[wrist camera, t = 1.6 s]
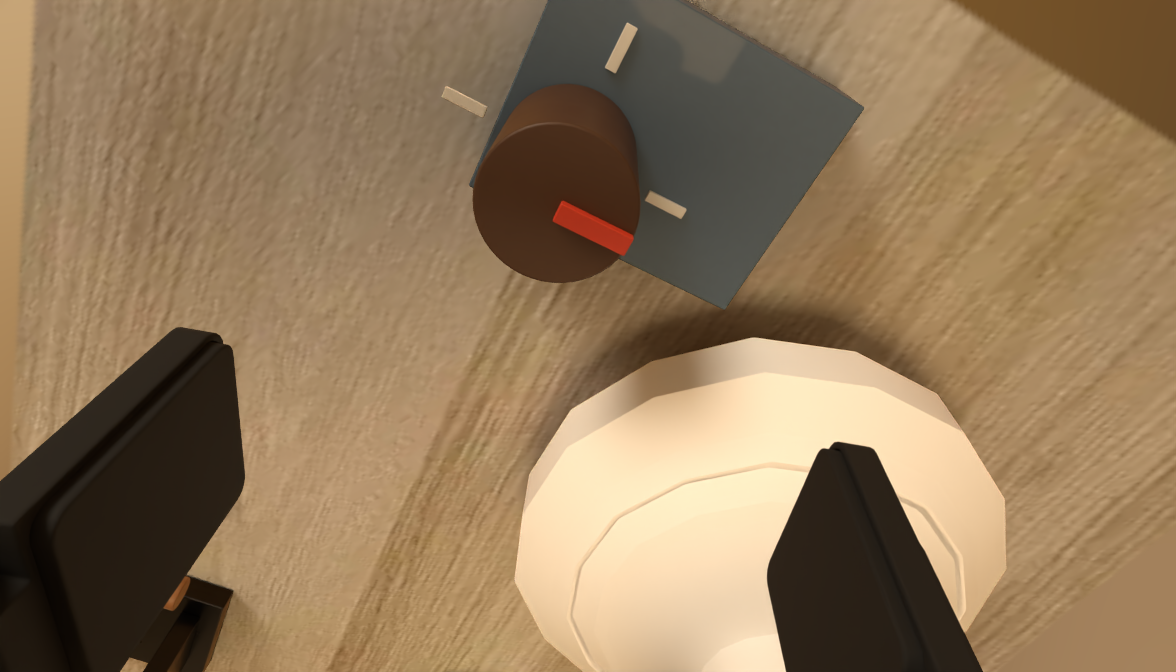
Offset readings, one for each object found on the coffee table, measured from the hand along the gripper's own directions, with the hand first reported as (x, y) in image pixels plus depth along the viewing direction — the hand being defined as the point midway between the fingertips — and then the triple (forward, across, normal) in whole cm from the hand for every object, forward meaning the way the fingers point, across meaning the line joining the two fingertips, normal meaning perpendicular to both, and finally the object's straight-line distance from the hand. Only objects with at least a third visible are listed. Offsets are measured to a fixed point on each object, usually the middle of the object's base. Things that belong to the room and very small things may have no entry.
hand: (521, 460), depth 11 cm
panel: (+17, -1, -1) cm, 17 cm away
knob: (+14, 0, -1) cm, 14 cm away
